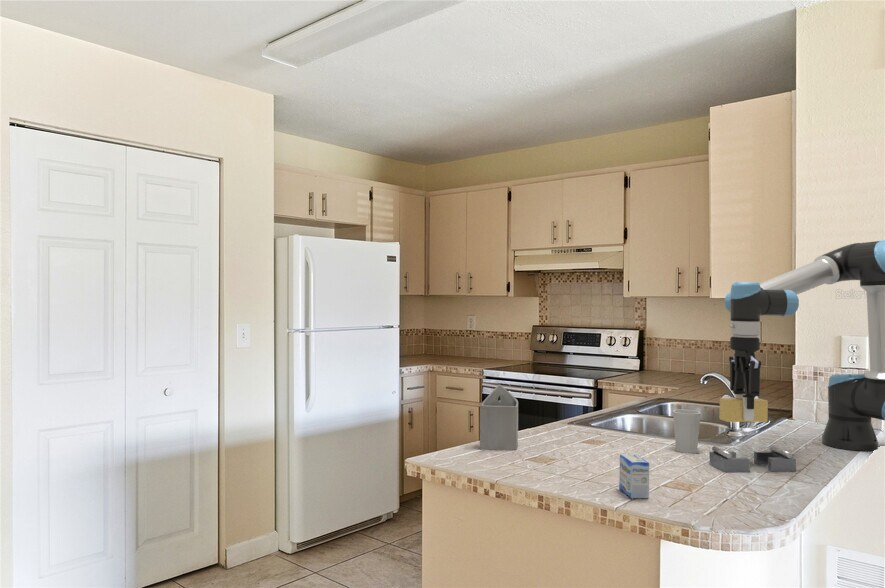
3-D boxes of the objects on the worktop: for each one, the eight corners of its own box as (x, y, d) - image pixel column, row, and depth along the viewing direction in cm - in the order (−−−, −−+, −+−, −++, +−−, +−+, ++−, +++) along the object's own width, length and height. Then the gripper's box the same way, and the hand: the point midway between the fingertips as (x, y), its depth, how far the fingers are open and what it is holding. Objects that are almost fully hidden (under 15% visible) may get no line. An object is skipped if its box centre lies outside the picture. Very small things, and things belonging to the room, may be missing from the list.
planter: (496, 454, 189) (497, 389, 189) (479, 449, 195) (479, 386, 195) (534, 446, 199) (534, 385, 199) (516, 442, 205) (516, 382, 205)
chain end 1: (733, 463, 180) (733, 445, 180) (749, 472, 171) (749, 453, 171) (709, 463, 179) (709, 445, 179) (724, 472, 171) (724, 453, 171)
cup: (702, 454, 190) (703, 414, 190) (674, 452, 192) (675, 413, 192) (697, 448, 198) (697, 410, 198) (670, 446, 200) (671, 408, 200)
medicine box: (618, 489, 155) (619, 453, 155) (636, 488, 155) (636, 453, 155) (631, 499, 147) (631, 462, 147) (649, 499, 147) (649, 462, 147)
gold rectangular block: (758, 419, 182) (759, 398, 182) (767, 422, 178) (767, 400, 178) (719, 419, 180) (719, 398, 181) (727, 421, 176) (727, 400, 177)
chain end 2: (777, 463, 180) (777, 445, 180) (795, 471, 172) (796, 452, 172) (753, 463, 180) (753, 445, 180) (771, 471, 171) (771, 453, 171)
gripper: (717, 334, 188) (716, 413, 188) (747, 338, 170) (746, 424, 170) (742, 334, 188) (741, 413, 188) (774, 338, 171) (773, 425, 171)
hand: (744, 418), depth 179 cm, fingers closed on gold rectangular block, 4 cm apart
